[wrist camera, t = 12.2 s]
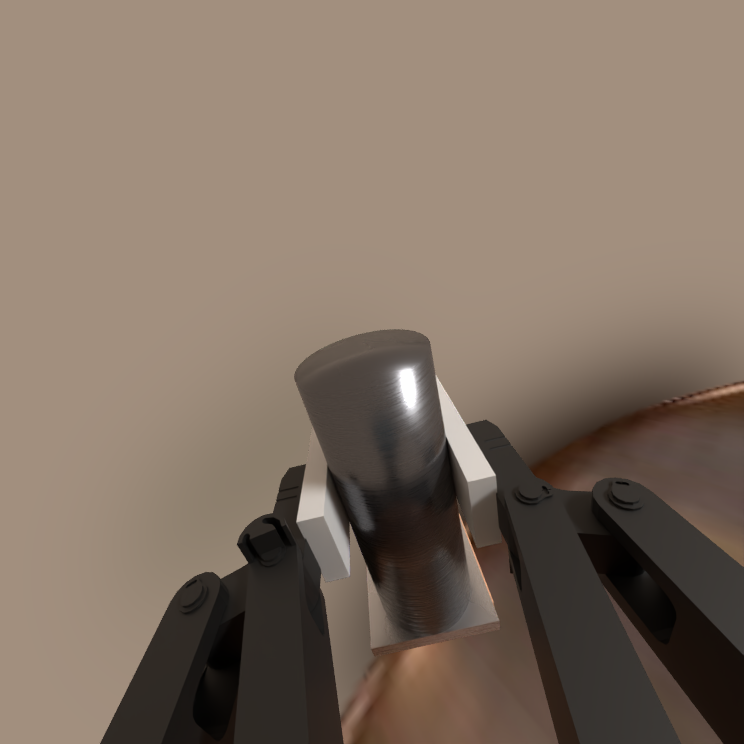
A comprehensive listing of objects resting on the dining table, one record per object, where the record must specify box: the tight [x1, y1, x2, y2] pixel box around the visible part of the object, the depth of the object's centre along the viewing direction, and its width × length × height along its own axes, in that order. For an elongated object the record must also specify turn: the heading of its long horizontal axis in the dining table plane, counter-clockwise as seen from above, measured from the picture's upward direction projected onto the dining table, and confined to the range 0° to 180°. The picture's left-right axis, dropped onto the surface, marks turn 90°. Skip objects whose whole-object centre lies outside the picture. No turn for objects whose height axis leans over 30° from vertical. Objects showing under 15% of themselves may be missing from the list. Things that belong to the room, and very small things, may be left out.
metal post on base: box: [294, 330, 500, 656], centre depth 14 cm, size 5×10×12 cm, turn 4°
